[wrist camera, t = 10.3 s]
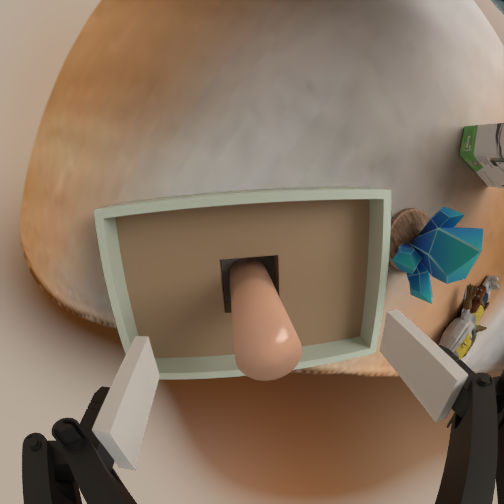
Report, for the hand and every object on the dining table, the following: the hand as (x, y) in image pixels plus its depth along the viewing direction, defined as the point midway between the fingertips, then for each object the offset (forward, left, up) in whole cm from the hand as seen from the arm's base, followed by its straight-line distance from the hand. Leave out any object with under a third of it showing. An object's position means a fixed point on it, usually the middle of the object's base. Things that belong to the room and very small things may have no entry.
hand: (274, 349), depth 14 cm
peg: (0, 0, -13) cm, 13 cm away
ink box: (-13, +32, -13) cm, 37 cm away
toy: (+10, +32, -14) cm, 36 cm away
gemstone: (-2, +18, -13) cm, 22 cm away
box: (0, 0, -13) cm, 13 cm away
